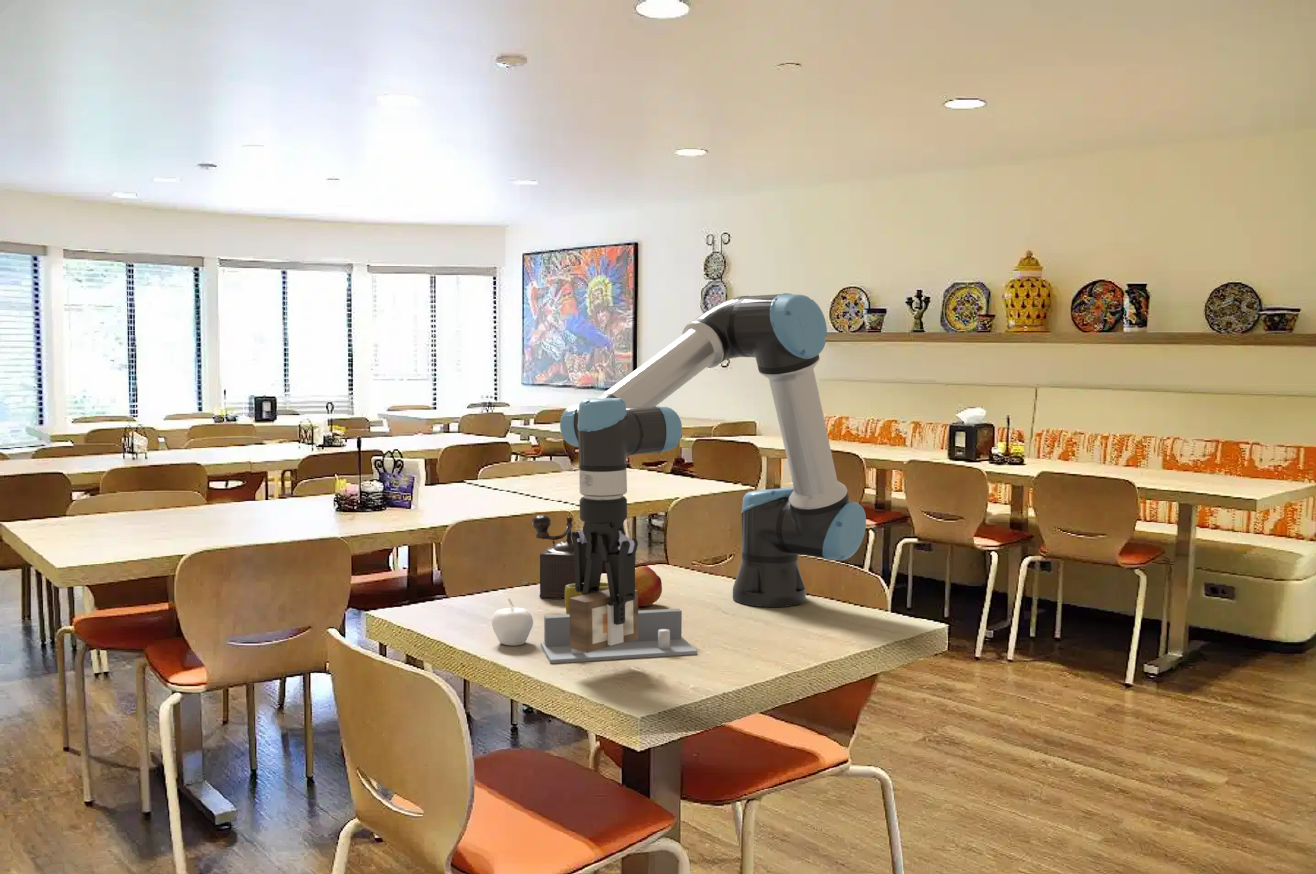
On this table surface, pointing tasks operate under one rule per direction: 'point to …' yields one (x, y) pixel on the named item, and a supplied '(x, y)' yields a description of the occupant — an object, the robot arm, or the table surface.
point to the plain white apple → (512, 625)
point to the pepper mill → (555, 560)
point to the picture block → (598, 621)
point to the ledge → (654, 640)
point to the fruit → (647, 586)
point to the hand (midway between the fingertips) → (605, 640)
